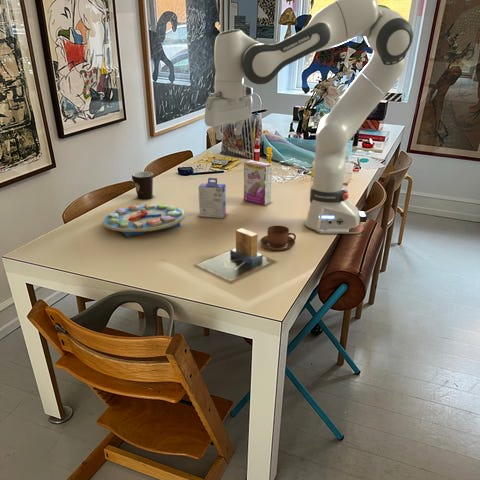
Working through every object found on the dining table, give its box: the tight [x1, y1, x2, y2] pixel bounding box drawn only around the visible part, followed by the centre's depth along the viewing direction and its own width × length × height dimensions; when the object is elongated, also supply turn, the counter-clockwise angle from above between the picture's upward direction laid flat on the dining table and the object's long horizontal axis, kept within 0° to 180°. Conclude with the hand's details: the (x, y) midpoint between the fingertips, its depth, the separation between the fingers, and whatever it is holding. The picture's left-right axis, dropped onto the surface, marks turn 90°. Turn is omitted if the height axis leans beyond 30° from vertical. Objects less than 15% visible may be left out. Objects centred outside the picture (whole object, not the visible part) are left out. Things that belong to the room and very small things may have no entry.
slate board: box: [195, 250, 275, 282], centre depth 154 cm, size 20×16×1 cm
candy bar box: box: [243, 159, 273, 206], centre depth 201 cm, size 11×5×16 cm, turn 53°
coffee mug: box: [131, 171, 154, 201], centre depth 209 cm, size 12×9×10 cm
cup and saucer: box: [260, 225, 297, 251], centre depth 165 cm, size 12×12×6 cm
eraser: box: [229, 227, 264, 265], centre depth 155 cm, size 10×5×9 cm, turn 45°
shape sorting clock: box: [102, 203, 185, 238], centre depth 182 cm, size 31×30×6 cm
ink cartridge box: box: [198, 177, 227, 219], centre depth 188 cm, size 10×6×14 cm, turn 78°
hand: (228, 137), depth 156 cm, fingers open, 8 cm apart
